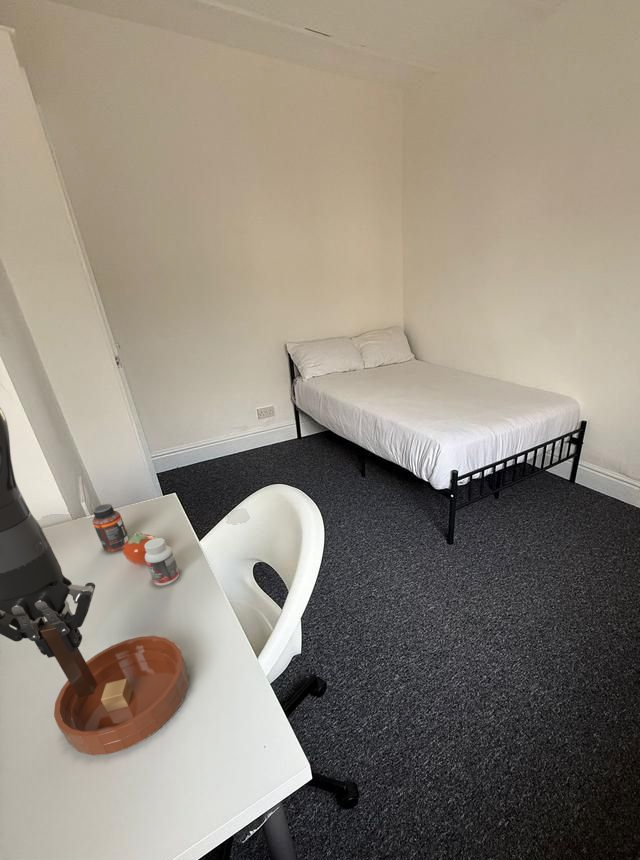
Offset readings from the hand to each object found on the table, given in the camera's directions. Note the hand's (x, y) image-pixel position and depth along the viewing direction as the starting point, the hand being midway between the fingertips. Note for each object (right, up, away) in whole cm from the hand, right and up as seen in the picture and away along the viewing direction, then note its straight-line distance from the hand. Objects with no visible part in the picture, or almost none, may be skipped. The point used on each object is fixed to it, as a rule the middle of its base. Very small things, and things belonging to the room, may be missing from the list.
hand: (64, 649), depth 60 cm
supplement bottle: (-22, +7, +46) cm, 51 cm away
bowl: (+5, -11, +7) cm, 14 cm away
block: (+4, -11, +7) cm, 13 cm away
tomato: (-12, +5, +40) cm, 42 cm away
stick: (0, -8, +4) cm, 9 cm away
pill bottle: (-3, +2, +34) cm, 34 cm away
